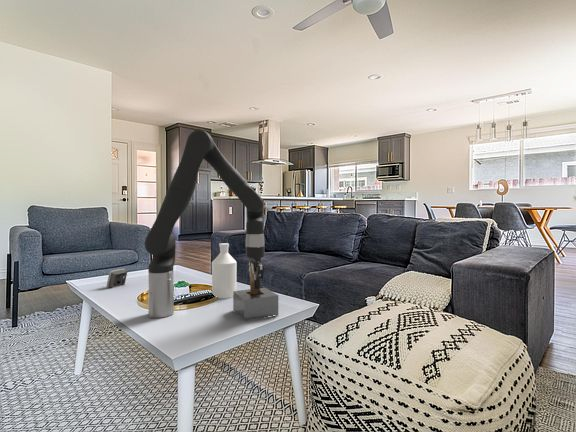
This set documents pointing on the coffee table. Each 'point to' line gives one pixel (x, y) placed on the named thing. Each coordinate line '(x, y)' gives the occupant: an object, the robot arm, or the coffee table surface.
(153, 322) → the coffee table surface
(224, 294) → the bottle
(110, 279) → the electrical switch
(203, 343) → the coffee table surface
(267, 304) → the box
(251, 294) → the brown wooden block
